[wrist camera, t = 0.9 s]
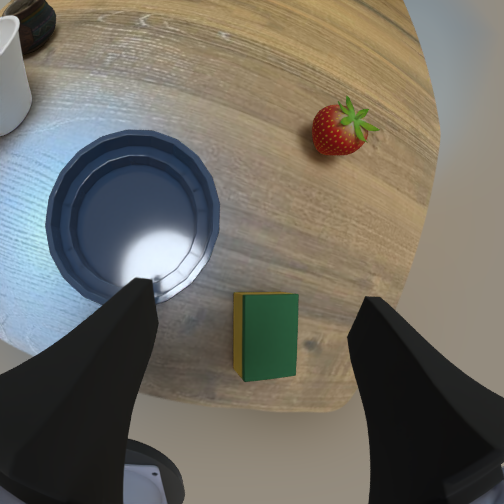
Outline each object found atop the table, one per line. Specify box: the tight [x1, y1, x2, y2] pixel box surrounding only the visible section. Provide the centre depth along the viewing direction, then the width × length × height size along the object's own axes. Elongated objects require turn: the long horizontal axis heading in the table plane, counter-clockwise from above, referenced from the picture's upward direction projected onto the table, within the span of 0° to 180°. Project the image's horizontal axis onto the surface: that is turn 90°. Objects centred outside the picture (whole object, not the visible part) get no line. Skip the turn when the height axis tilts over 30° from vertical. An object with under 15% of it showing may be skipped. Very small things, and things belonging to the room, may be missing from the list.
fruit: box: [312, 96, 379, 155], centre depth 24 cm, size 5×5×8 cm
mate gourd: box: [2, 0, 56, 54], centre depth 13 cm, size 7×8×10 cm
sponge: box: [233, 292, 299, 382], centre depth 23 cm, size 7×4×4 cm, turn 179°
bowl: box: [45, 130, 220, 305], centre depth 20 cm, size 13×13×4 cm
